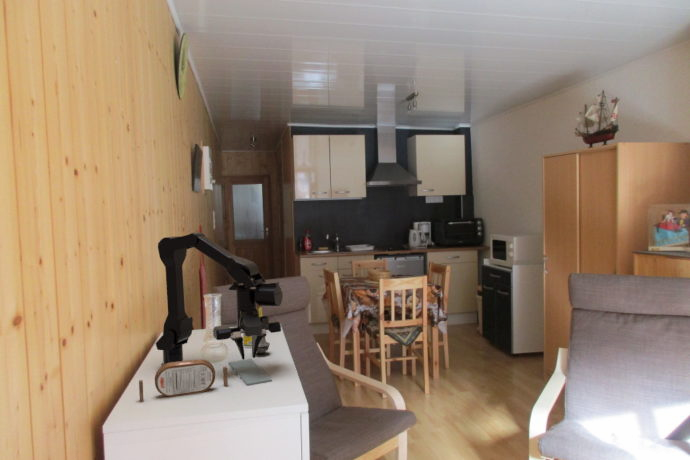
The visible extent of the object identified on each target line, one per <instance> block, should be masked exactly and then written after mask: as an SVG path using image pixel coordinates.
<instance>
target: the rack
mask: <svg viewBox="0 0 690 460" xmlns="http://www.w3.org/2000/svg"><path fill="white" fill-rule="evenodd" d="M222 373H223V374H222V377H223V386H224V387H225V388H226V387H229V383H228V382H229V379H228V367H227V366H223V367H222ZM138 389H139V391H138V392H139V402H140V403H144V400H145V399H144V382H143V379H141V380H140V379H139V380H138Z"/></svg>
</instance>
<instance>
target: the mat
mask: <svg viewBox="0 0 690 460" xmlns="http://www.w3.org/2000/svg"><path fill="white" fill-rule="evenodd" d="M228 365H229V366H230V367H231V369H232V368H233V369H234V370H235V371H234V370H233V369H232V370H233V371H234V372H235V373H236V375H237V374H238V375H239V376H240V377H239V376H238V375H237V376H238V377H239V378H240V379H241V380H243V381H242V382H243V383H244V384H245V386H246V387H247V386H254V385H259V384H260V385H261V384H265V383H269V382H270V383H271V382H273V379H272V378H271V377H270V376H269V375H268V373H266V371H264V370H263V369H262V368H261V367H260V366H259V365H258V364H257V363H256V362H254V360H253V359H252V358H248V359H244V360H243V359H241V360H236V361H229V362H228Z"/></svg>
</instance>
